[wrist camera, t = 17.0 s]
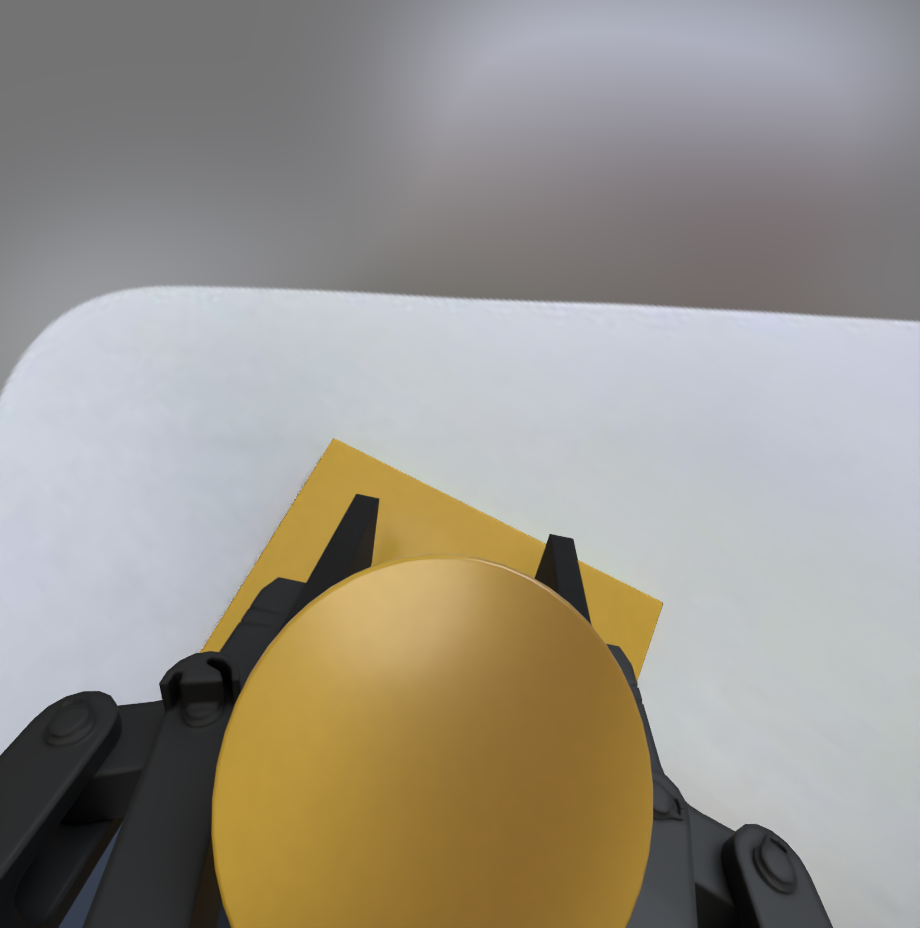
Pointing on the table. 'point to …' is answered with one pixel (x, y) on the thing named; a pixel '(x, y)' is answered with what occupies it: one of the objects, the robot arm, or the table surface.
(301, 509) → the sorting board
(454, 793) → the yellow cylinder
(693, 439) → the table surface
